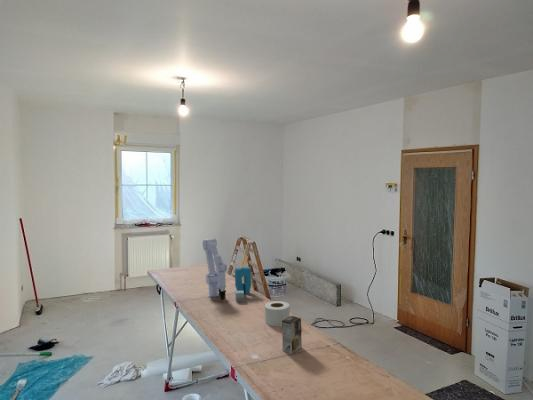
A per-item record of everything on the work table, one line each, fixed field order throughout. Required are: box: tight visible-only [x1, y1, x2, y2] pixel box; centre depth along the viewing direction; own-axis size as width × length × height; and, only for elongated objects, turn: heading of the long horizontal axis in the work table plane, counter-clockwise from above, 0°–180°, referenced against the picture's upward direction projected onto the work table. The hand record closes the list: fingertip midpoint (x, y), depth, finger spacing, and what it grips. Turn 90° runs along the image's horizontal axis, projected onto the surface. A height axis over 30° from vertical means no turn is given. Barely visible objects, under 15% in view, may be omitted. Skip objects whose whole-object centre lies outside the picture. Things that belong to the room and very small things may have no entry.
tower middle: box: [234, 290, 245, 299], centre depth 286 cm, size 6×6×4 cm
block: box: [234, 266, 252, 295], centre depth 304 cm, size 12×5×20 cm, turn 114°
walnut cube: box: [218, 292, 227, 303], centre depth 288 cm, size 5×5×5 cm
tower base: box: [235, 296, 245, 303], centre depth 286 cm, size 6×6×4 cm
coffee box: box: [281, 315, 303, 354], centre depth 203 cm, size 9×6×16 cm
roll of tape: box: [264, 300, 291, 327], centre depth 243 cm, size 16×15×11 cm
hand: (222, 298), depth 288 cm, fingers open, 7 cm apart
